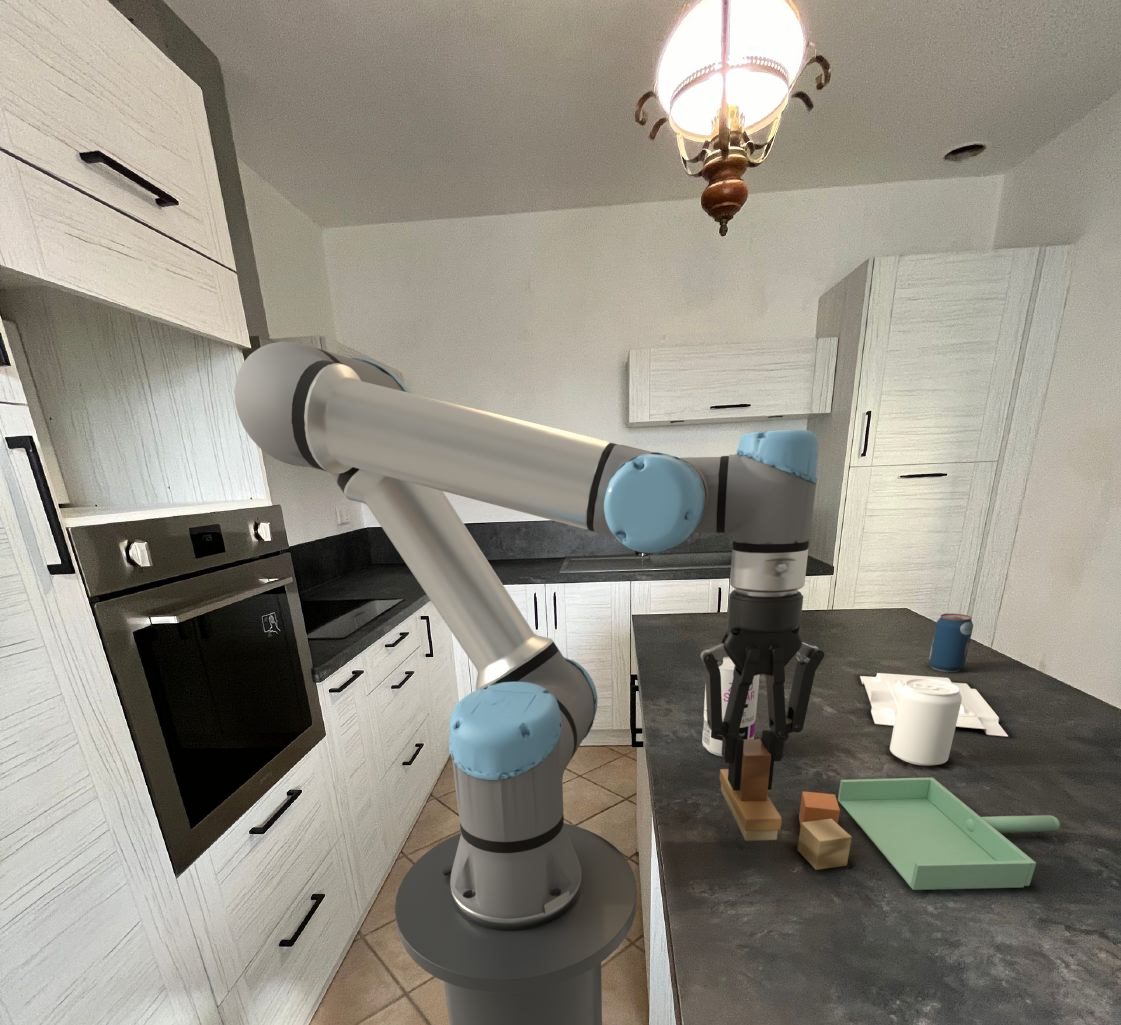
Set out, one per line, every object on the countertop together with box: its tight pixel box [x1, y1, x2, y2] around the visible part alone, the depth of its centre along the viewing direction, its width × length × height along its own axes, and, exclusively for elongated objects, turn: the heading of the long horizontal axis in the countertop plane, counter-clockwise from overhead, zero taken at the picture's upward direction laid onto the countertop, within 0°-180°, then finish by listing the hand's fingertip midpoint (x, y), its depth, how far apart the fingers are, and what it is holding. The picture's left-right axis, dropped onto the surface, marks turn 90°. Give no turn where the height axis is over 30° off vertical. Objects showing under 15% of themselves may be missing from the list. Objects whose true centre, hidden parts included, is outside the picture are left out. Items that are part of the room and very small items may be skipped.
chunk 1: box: [798, 790, 841, 826], centre depth 76 cm, size 4×4×4 cm
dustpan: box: [837, 777, 1061, 891], centre depth 73 cm, size 23×19×3 cm
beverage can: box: [889, 679, 962, 767], centre depth 91 cm, size 8×8×12 cm
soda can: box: [928, 613, 974, 673], centre depth 131 cm, size 7×7×12 cm
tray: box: [859, 672, 1009, 737], centre depth 114 cm, size 20×28×4 cm
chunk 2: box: [797, 819, 853, 871], centre depth 70 cm, size 4×4×4 cm
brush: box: [718, 738, 783, 841], centre depth 71 cm, size 4×12×9 cm, turn 179°
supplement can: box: [701, 656, 761, 758], centre depth 96 cm, size 8×8×15 cm
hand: (749, 784), depth 71 cm, fingers closed on brush, 3 cm apart
